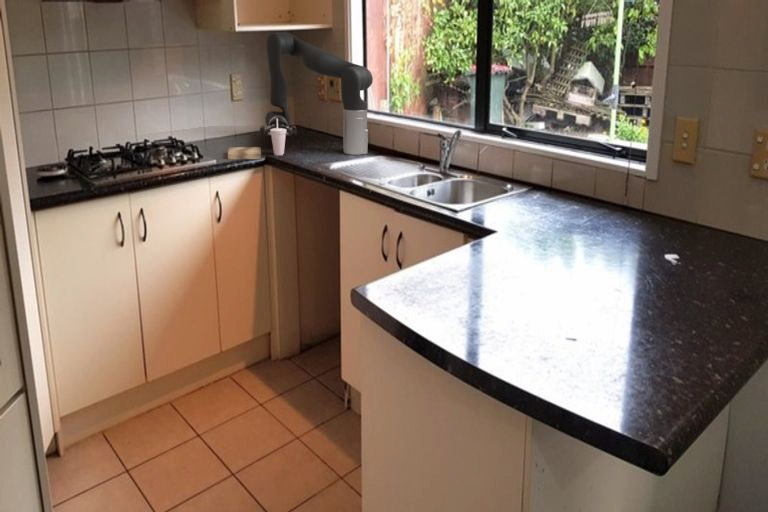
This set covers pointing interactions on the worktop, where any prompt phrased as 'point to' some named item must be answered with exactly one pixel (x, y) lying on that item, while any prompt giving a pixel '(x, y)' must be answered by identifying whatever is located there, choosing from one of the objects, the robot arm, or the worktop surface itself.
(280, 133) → the smoothie
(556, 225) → the worktop surface
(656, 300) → the worktop surface
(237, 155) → the board
